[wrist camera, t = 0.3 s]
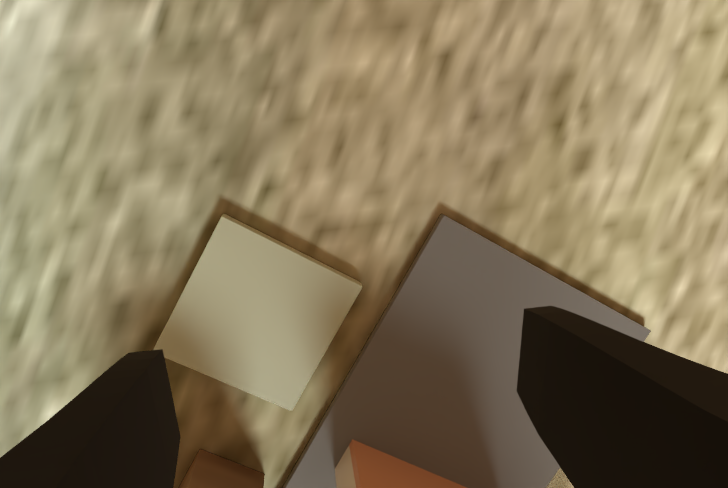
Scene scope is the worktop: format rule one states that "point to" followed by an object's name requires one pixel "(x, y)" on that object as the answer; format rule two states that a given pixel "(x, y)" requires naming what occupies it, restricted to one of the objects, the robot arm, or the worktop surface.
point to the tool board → (257, 314)
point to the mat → (450, 369)
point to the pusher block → (220, 473)
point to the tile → (383, 471)
